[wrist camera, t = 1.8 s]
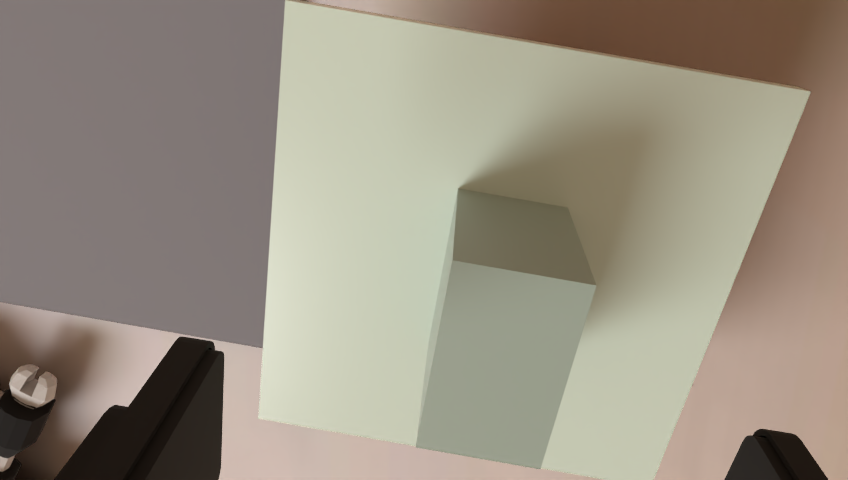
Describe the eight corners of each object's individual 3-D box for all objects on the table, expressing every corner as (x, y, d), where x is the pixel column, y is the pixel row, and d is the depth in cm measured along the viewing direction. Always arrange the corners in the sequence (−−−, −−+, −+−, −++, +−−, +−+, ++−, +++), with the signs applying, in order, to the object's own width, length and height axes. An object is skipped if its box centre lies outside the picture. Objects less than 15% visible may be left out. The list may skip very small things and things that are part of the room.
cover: (799, 87, 16) (931, 139, 11) (645, 474, 21) (693, 617, 17) (291, -2, 16) (217, 15, 12) (263, 406, 21) (205, 530, 17)
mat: (303, -50, 20) (301, -50, 20) (275, 344, 26) (272, 349, 26) (-160, -130, 20) (-172, -132, 20) (-82, 281, 26) (-90, 286, 26)
